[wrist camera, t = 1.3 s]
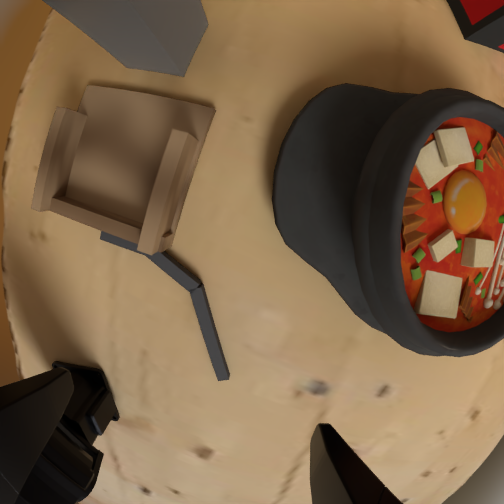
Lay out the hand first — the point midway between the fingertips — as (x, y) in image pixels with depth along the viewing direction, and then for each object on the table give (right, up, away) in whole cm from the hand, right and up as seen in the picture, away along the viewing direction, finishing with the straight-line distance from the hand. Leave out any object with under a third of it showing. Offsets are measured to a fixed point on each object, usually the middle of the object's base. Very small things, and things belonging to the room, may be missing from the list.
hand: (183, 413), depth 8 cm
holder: (-7, +13, +11) cm, 18 cm away
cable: (-4, +1, +13) cm, 14 cm away
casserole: (+16, +8, +11) cm, 21 cm away
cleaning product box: (+30, +31, +6) cm, 44 cm away
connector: (-4, +21, +9) cm, 23 cm away
